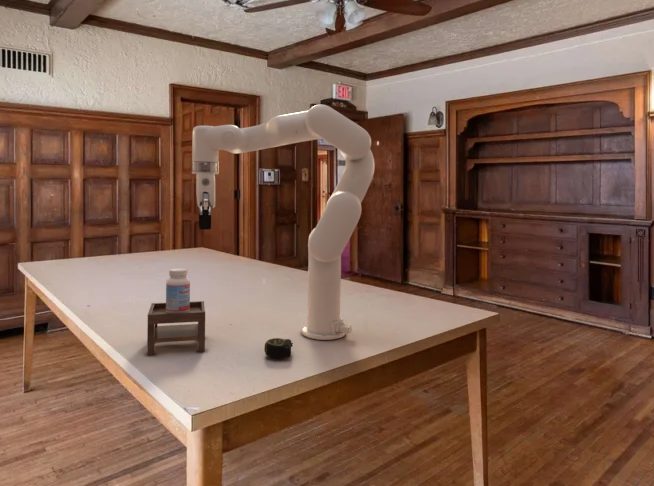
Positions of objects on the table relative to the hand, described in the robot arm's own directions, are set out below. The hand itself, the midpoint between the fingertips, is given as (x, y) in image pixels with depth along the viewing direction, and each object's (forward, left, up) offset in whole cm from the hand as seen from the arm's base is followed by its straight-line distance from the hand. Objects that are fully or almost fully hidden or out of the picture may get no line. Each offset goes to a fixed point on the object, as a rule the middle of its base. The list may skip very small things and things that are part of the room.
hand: (204, 227), depth 135 cm
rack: (-3, +13, -30) cm, 33 cm away
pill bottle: (-3, +13, -22) cm, 25 cm away
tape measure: (-30, +4, -31) cm, 43 cm away
